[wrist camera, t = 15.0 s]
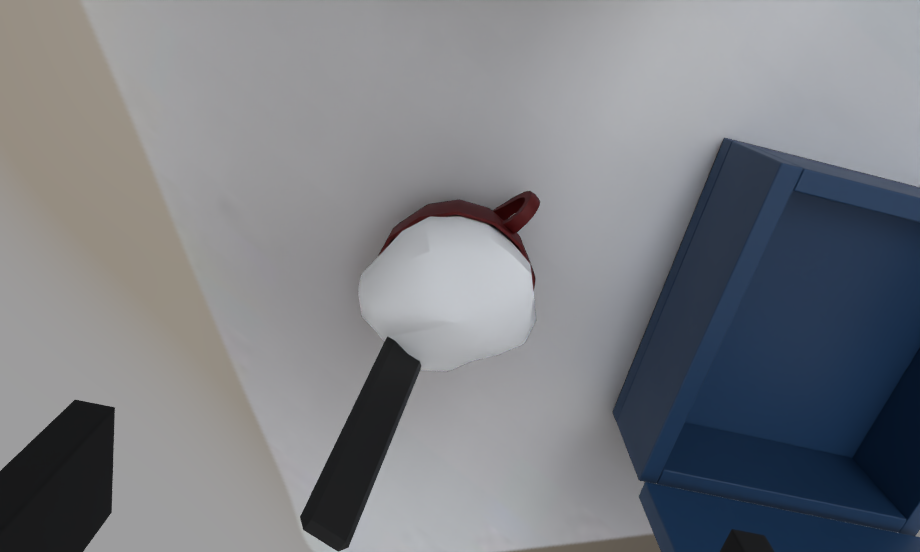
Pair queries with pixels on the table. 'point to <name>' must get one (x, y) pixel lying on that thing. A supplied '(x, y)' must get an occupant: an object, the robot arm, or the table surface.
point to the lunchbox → (787, 345)
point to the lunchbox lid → (755, 525)
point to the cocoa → (425, 333)
